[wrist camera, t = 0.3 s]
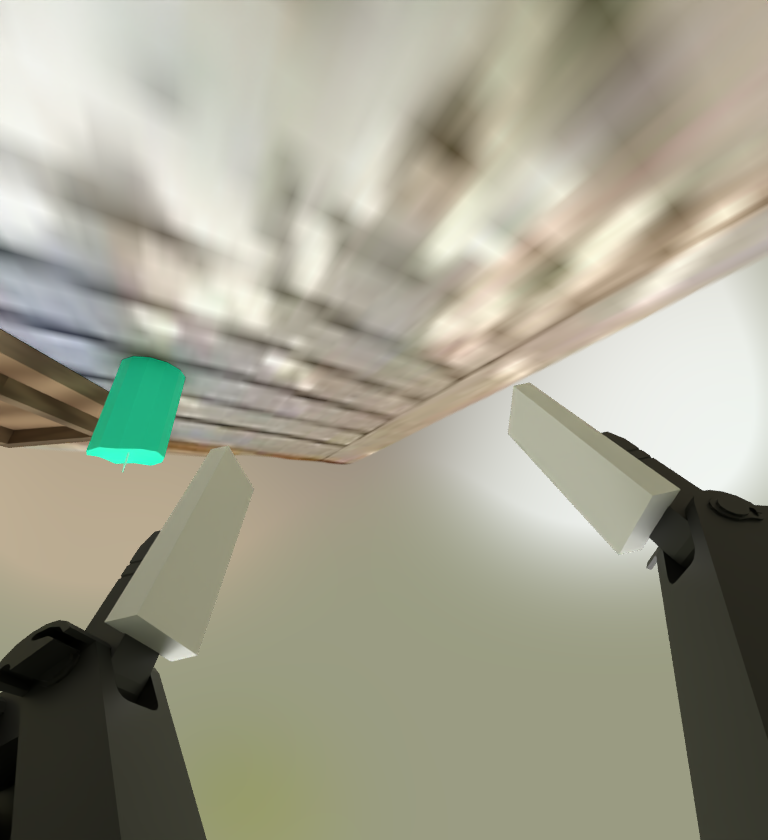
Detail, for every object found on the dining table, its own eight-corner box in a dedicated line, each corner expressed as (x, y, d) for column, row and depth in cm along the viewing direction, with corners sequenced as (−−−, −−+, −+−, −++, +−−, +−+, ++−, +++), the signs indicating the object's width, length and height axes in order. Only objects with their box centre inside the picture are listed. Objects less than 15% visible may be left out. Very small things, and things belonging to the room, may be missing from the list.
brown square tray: (-245, 343, 24) (-288, 381, 22) (-4, 327, 25) (-28, 363, 23) (25, 432, 42) (12, 457, 40) (159, 421, 43) (152, 445, 41)
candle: (113, 350, 29) (66, 460, 24) (182, 363, 31) (155, 464, 26) (128, 381, 33) (92, 478, 28) (187, 389, 36) (164, 480, 31)
